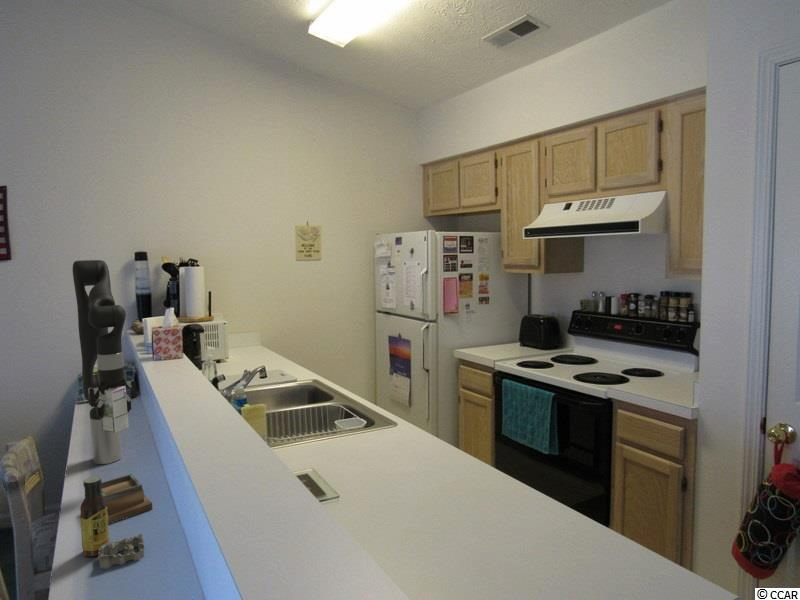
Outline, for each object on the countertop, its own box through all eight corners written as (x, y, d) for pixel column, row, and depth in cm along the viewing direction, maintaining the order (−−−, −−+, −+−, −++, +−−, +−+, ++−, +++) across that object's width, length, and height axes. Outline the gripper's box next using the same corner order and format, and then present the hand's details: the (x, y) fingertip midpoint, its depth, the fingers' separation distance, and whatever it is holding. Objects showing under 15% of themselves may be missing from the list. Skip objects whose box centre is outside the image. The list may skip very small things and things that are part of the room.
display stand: (87, 506, 161) (85, 483, 160) (136, 491, 170) (134, 469, 169) (101, 526, 149) (99, 502, 148) (152, 509, 159) (150, 486, 158)
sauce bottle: (97, 559, 134) (91, 487, 132) (76, 556, 135) (70, 484, 133) (115, 544, 140) (110, 475, 138) (96, 542, 142) (90, 473, 139)
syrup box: (129, 427, 173) (126, 385, 171) (114, 433, 167) (111, 390, 166) (116, 425, 175) (113, 383, 173) (101, 431, 169) (98, 388, 167)
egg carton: (97, 572, 129) (96, 557, 129) (99, 556, 136) (98, 541, 135) (145, 560, 134) (143, 545, 134) (144, 544, 141) (143, 530, 140)
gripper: (131, 360, 176) (134, 407, 178) (83, 368, 166) (86, 417, 168) (138, 364, 170) (141, 412, 173) (88, 372, 161) (92, 423, 163)
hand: (114, 414), depth 170 cm, fingers closed on syrup box, 7 cm apart
